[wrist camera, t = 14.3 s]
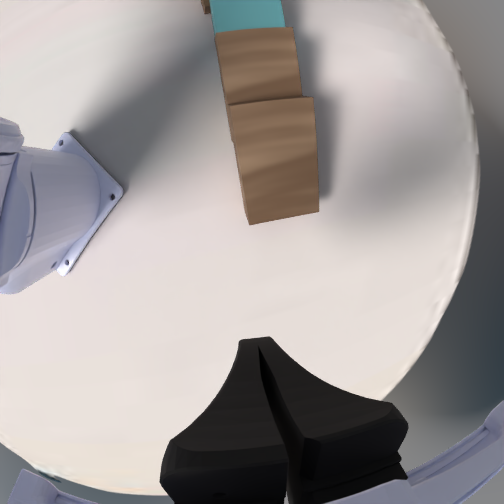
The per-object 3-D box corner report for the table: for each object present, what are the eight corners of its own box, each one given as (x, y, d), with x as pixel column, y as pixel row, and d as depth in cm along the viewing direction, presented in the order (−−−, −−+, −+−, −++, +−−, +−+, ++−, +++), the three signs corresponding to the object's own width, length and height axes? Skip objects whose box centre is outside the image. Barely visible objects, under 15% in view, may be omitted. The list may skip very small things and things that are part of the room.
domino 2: (306, 134, 17) (292, 27, 13) (234, 144, 17) (215, 32, 12) (296, 130, 19) (284, 32, 14) (231, 139, 19) (214, 38, 14)
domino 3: (319, 211, 19) (313, 97, 14) (249, 225, 18) (230, 106, 14) (309, 200, 20) (302, 95, 16) (245, 212, 20) (227, 104, 15)
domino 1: (290, 60, 16) (275, -25, 11) (221, 66, 15) (207, -22, 11) (283, 63, 17) (269, -16, 13) (219, 69, 17) (207, -12, 13)
